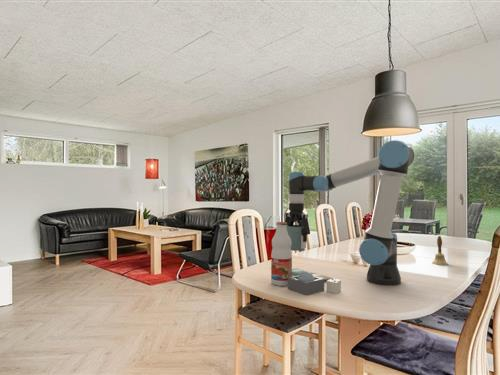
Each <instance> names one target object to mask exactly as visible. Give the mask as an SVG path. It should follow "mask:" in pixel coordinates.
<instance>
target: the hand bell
mask: <svg viewBox="0 0 500 375" xmlns="http://www.w3.org/2000/svg"><path fill="white" fill-rule="evenodd" d="M436 245H437V253H435V257H434V259H433V261H432V262H431V264H433V265H435V264H436V266H448V265H449V264H448V262H447V260H446V258H445V254H443V252H442V246H443V240H442V237H441V236H440V235H438V236H437V239H436Z"/></svg>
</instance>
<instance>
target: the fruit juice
mask: <svg viewBox="0 0 500 375" xmlns="http://www.w3.org/2000/svg"><path fill="white" fill-rule="evenodd" d="M286 226H287V222H285V221H277V222H276V230H275V233H274V235H273V237H272V239H271V246H272V248H271V249H272V250H271V256H270V257H271V263H270V264H271V267H270V271H271V272H270V273H271V274H270V275H271V276H270V278H271V280H270V281H271V284H272V285H273V286H276V287H277V286H279V287H288V277H292V269H293V253H292V252H293V251H292V250H291V244H292V241H291V238H290V236H289V234H288V232H287V228H286Z"/></svg>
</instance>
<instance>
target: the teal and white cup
mask: <svg viewBox="0 0 500 375" xmlns="http://www.w3.org/2000/svg"><path fill="white" fill-rule="evenodd" d="M286 228H287V232H288V234H289V236H290V238H291V241H292V244H291V251H292V252H293V251H294V252H295V251H296V252H299V251H304V250H305V248H304V249H301V235H302V232H301V231H302V228H304V227H299V224H293V227H292V226H288V225H287V226H286ZM304 233H305V232H304Z"/></svg>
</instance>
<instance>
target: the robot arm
mask: <svg viewBox="0 0 500 375" xmlns="http://www.w3.org/2000/svg"><path fill="white" fill-rule="evenodd" d="M414 160H415V151H414V150H413V148H412V147H411V146H410V145H409V144H407V143H405V142H404V141H402V140H389V141H387V142H386V143H384V144H383V145H381V147H380V149H379V151H378V156H376V157H374V158H371V159H369V160H366V161H363V162H360V163H357V164H355V165H353V166H352V165H351V166H349V167H347V168H342V169H340V170H337V171H335V172H333V173H329V174H327V175H305V173H304V172H303V171H293V172H290V173H289V175H288V192H289V193H288V202H289V203H288V210H289V212H285V214H284V215H285V218H284V222H287V225H288V226H292V227H293V225H295V222H296V223H297V225H299V227H304V228H302V231H301V232H302V235H301V249H304V250H305V249H307V241H308V235H311V228H310V224H309V219H308V218H309V215H308V213H304V212H303V211H304V210H305V204H304V201H305V199H304V198H305V192H329V191H332V190H334V189H336V188H338V187H339V188H340V187H342V186H345V185H349V184H351V183H354V182H358V181H360V180H364V179H366V178H369V177H373V176H375V175H378V174H380V178H379V183H378V188H377V192H376V196H375V197H376V198H375V202H374V207H373V211H372V217H371V222H370V227H369V228H367V229H366V230H365V233H364V237H363V240H362V242H361V243H360V245H359V249H358V250H359V255H360V257H361V259H362V260H363V261H364V262H365V263H367V264H369V267H368V270H367V273H366V280H367V281H368V282H369V283H370V282H371V283H372V284H378V285H385V286H386V285H387V286H395V285H399V284H401V282H402V277H401V274H400V271H399V268H398V236H397V234H396V233H394V232H391V231H392V228H393V227H392V226H393V223H394V222H393V221H394V219H395V218H394V217H395V214H396V209H397V204H398V198H399V194H400V189H401V185H402V181H403V178H404V177H406V176H407V175H408V171H409V167H410V166H411V165H412V164H413V162H414ZM304 232H305V233H304Z"/></svg>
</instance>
